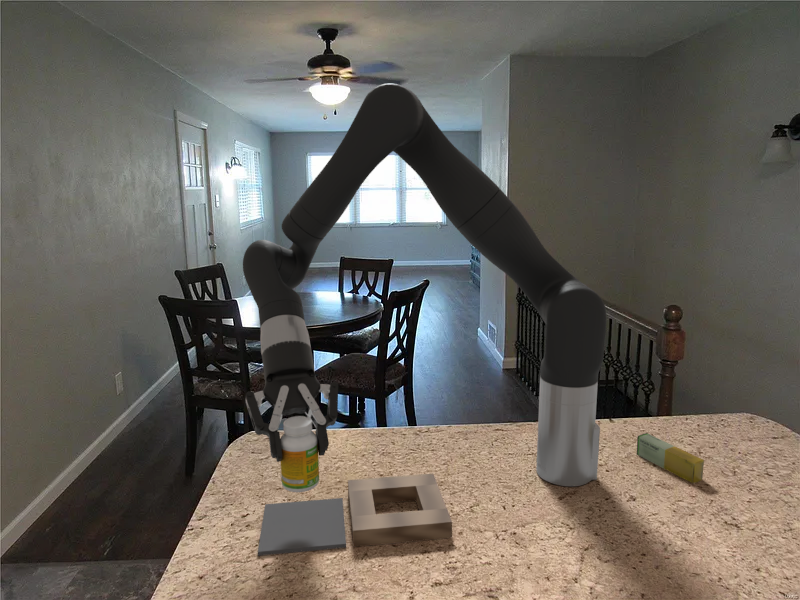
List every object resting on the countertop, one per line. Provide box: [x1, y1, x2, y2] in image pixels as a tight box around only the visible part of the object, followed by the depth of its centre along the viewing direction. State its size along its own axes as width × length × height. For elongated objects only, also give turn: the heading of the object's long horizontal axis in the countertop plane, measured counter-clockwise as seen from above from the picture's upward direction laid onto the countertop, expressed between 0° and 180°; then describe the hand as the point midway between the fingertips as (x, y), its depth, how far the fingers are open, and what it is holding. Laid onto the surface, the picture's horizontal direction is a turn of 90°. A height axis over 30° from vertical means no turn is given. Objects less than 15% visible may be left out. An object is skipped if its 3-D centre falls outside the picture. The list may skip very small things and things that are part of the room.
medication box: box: [636, 432, 705, 484], centre depth 103 cm, size 12×3×4 cm, turn 27°
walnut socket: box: [347, 473, 453, 548], centre depth 90 cm, size 14×14×2 cm
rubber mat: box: [257, 497, 347, 557], centre depth 87 cm, size 12×12×1 cm
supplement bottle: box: [280, 415, 320, 493], centre depth 85 cm, size 5×5×10 cm
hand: (301, 456), depth 83 cm, fingers closed on supplement bottle, 5 cm apart
